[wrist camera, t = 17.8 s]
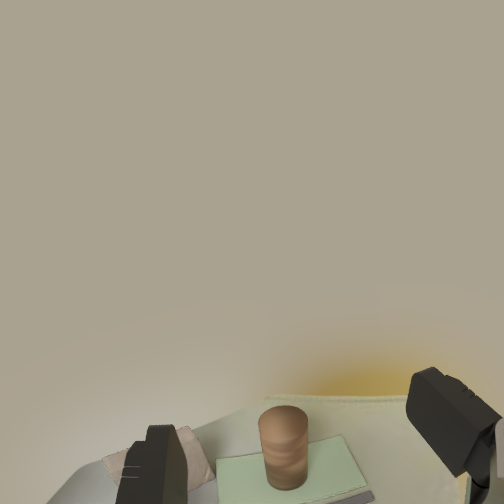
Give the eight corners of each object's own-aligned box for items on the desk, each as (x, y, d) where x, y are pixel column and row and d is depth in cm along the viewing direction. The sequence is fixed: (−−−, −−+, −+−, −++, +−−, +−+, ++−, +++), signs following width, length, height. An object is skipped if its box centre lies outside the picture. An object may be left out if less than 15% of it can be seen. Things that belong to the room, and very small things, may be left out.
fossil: (138, 515, 25) (107, 474, 23) (127, 497, 28) (98, 454, 26) (216, 478, 32) (201, 434, 30) (202, 464, 35) (186, 419, 33)
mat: (220, 516, 26) (219, 515, 26) (216, 460, 36) (215, 459, 35) (366, 485, 28) (366, 483, 28) (340, 436, 37) (341, 434, 37)
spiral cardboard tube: (270, 494, 29) (262, 442, 26) (263, 465, 34) (255, 410, 31) (312, 485, 29) (313, 431, 27) (302, 457, 34) (300, 401, 32)
